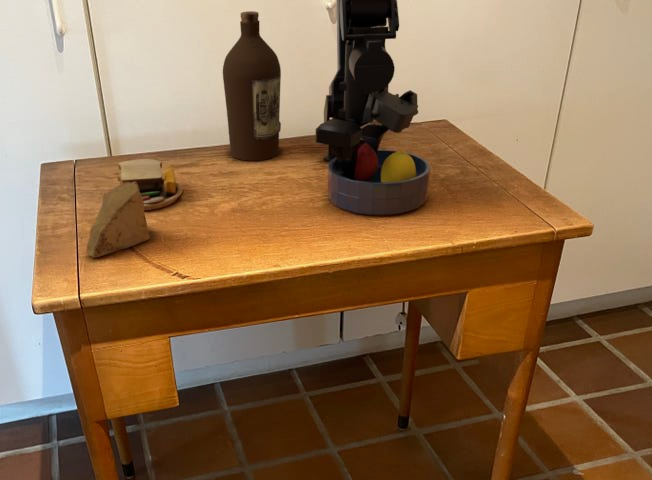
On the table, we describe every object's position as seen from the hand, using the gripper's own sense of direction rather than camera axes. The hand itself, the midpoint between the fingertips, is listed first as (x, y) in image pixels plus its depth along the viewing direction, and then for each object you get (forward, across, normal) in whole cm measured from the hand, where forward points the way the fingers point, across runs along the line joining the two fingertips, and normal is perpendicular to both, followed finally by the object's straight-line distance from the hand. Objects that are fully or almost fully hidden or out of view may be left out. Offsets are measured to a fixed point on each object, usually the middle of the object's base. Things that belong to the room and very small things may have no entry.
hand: (359, 173), depth 121 cm
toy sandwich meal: (+4, -20, +30) cm, 37 cm away
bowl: (+4, 0, -4) cm, 5 cm away
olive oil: (+4, +8, +27) cm, 29 cm away
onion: (+2, 0, 0) cm, 2 cm away
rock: (+4, -36, +20) cm, 42 cm away
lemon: (+3, 0, -7) cm, 8 cm away
